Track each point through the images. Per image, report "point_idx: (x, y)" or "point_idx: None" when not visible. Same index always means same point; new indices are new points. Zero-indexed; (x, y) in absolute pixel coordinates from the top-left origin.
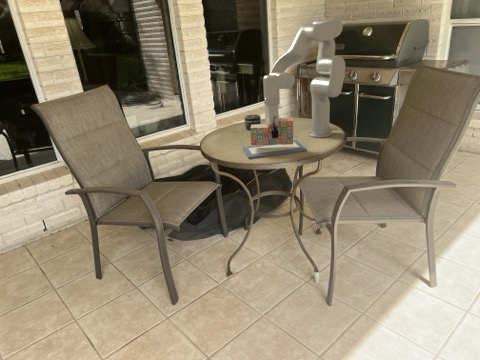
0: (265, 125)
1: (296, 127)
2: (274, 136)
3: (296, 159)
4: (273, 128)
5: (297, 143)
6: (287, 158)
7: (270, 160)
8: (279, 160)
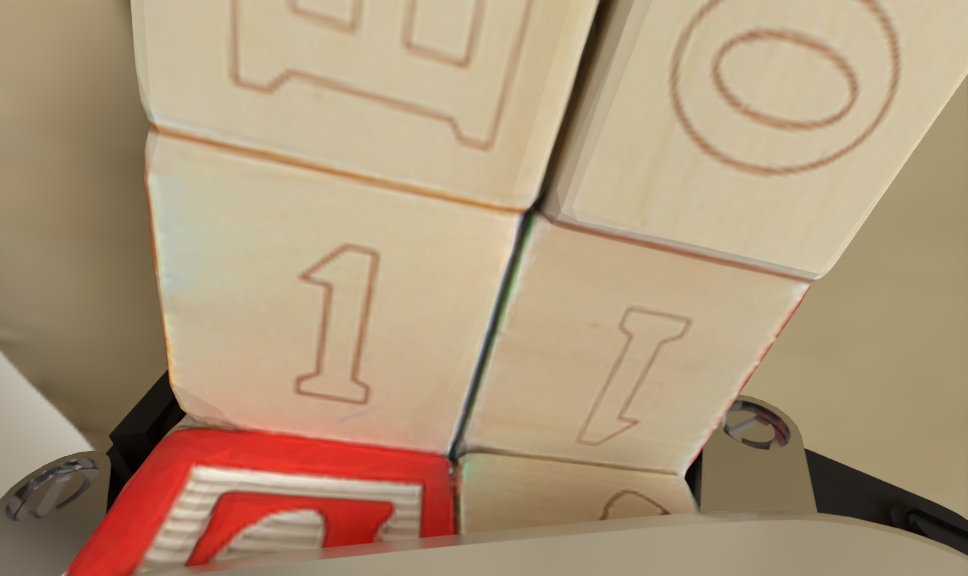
0: (565, 353)
1: (965, 512)
2: None
3: (79, 394)
4: (4, 557)
5: None
6: (107, 323)
7: (6, 109)
8: (23, 228)
